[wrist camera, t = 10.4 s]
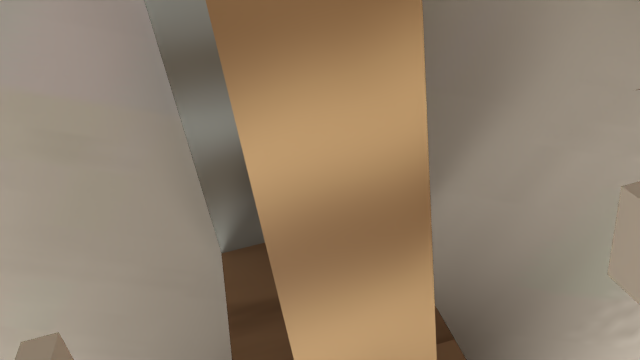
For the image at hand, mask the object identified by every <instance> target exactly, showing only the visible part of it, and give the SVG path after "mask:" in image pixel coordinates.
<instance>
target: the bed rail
mask: <svg viewBox="0 0 640 360" xmlns="http://www.w3.org/2000/svg"><path fill="white" fill-rule="evenodd" d="M206 4H207V8H208V13H209V17H210V21H211V25H212V29H213V33H214V37H215V41H216V45H217V49H218V53H219V57H220V61H221V65H222V69H223V73H224V78H225V82H226V86H227V90H228V94H229V98H230V102H231V106H232V110H233V114H234V118H235V122H236V126H237V130H238V134H239V138H240V143H241V147H242V151H243V155H244V159H245V163H246V167H247V171H248V175H249V179H250V183H251V187H252V191H253V195H254V199H255V203H256V208H257V212H258V216H259V220H260V224H261V228H262V232H263V236H264V240H265V244H266V248H267V252H268V256H269V260H270V264H271V268H272V273H273V277H274V281H275V285H276V289H277V293H278V297H279V301H280V305H281V309H282V313H283V317H284V321H285V325H286V329H287V333H288V338H289V342H290V346H291V350H292V354H293V358H294V360H437V351H436V327H435V302H434V278H433V253H432V229H431V204H430V180H429V155H428V130H427V106H426V81H425V57H424V32H423V8H422V0H206Z"/></svg>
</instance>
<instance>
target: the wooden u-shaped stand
mask: <svg viewBox="0 0 640 360" xmlns="http://www.w3.org/2000/svg"><path fill="white" fill-rule="evenodd" d="M144 1H145V4H146V8H147V11H148V14H149V17H150V21H151V24H152V27H153V30H154V34H155V37H156V40H157V44H158V47H159V50H160V53H161V57H162V60H163V63H164V66H165V70H166V73H167V76H168V80H169V83H170V86H171V89H172V93H173V96H174V99H175V102H176V106H177V109H178V112H179V115H180V119H181V122H182V125H183V129H184V132H185V135H186V138H187V142H188V145H189V148H190V151H191V155H192V158H193V161H194V165H195V168H196V171H197V174H198V178H199V181H200V184H201V187H202V191H203V194H204V197H205V200H206V204H207V207H208V210H209V214H210V217H211V220H212V223H213V227H214V230H215V233H216V236H217V240H218V243H219V246H220V250H221V253H222V262H223V272H224V282H225V292H226V302H227V312H228V322H229V332H230V342H231V353H232V360H294V358H293V354H292V350H291V346H290V342H289V338H288V333H287V329H286V325H285V321H284V317H283V313H282V309H281V305H280V301H279V297H278V293H277V289H276V285H275V281H274V277H273V273H272V268H271V264H270V260H269V256H268V252H267V248H266V244H265V240H264V236H263V232H262V228H261V224H260V220H259V216H258V212H257V208H256V203H255V199H254V195H253V191H252V187H251V183H250V179H249V175H248V171H247V167H246V163H245V159H244V155H243V151H242V147H241V143H240V138H239V134H238V130H237V126H236V122H235V118H234V114H233V110H232V106H231V102H230V98H229V94H228V90H227V86H226V82H225V78H224V73H223V69H222V65H221V61H220V57H219V53H218V49H217V45H216V41H215V37H214V33H213V29H212V25H211V21H210V17H209V13H208V8H207V4H206V0H144ZM435 327H436V351H437V360H466V358H465V357H464V355H463V353H462V351H461V350H460V348H459V346H458V344H457V343H456V341H455V339H454V337H453V336H452V334H451V332H450V331H449V329H448V327H447V325H446V324H445V322H444V320H443V318H442V317H441V315H440V313H439V311H438V310H437V308H436V306H435Z"/></svg>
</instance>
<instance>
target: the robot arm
mask: <svg viewBox="0 0 640 360" xmlns="http://www.w3.org/2000/svg"><path fill="white" fill-rule="evenodd" d="M607 275H608V276H609V277H610V278H611V279H612V280H614V281H615V282H616V283H617V284H618V285H619V286H620V287H621V288H622V289H623V290H624V291H625V292H626V293H628V294H629V295H630V296H631V297H632V298H633V299H634V300H635V301H636V302H637V303H638V304H639V305H640V182H636V183H632V184H629V185H625V186H621V192H620V198H619V205H618V211H617V217H616V223H615V230H614V236H613V242H612V249H611V255H610V261H609V267H608V274H607ZM15 360H74V359H73V358H72V356H71V354H70V352H69V350H68V348H67V347H66V345H65V343H64V341H63V339H62V338H61V336H60V334H59V332H58V333H54V334H50V335H47V336H43V337H39V338H35V339H31V340H27V341H23V342H21V344H20V347H19V350H18V352H17V355H16V358H15Z"/></svg>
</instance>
